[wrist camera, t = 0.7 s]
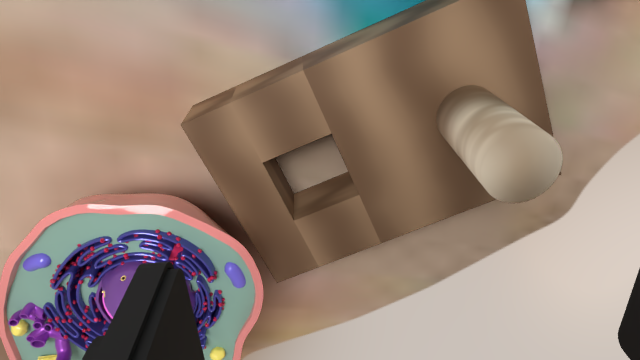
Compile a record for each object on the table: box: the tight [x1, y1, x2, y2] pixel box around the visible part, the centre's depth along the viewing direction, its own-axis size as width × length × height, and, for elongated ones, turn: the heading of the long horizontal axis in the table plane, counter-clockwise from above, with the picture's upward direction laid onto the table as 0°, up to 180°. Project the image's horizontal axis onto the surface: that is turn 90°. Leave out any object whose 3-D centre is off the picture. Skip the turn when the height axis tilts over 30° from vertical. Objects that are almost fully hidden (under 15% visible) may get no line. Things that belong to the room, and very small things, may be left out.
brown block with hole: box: [181, 0, 563, 283], centre depth 29 cm, size 22×14×12 cm, turn 113°
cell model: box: [0, 193, 263, 360], centre depth 33 cm, size 17×20×11 cm
